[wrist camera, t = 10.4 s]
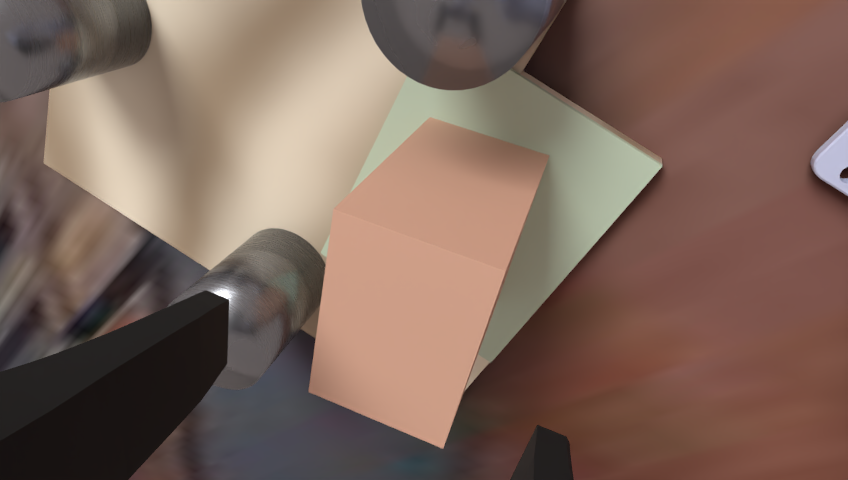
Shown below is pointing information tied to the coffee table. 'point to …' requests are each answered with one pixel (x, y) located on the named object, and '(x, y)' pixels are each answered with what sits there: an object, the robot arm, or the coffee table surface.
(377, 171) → the terracotta block
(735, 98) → the coffee table surface
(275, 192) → the course board
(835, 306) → the coffee table surface
